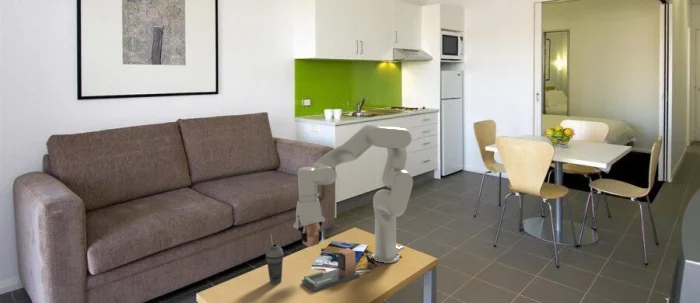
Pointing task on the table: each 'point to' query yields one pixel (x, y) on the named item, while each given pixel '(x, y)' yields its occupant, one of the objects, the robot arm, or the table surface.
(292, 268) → the table surface
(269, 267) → the beverage cup
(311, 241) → the block
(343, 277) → the rail
